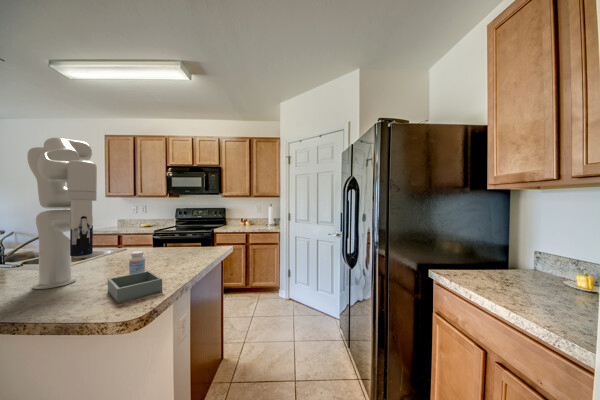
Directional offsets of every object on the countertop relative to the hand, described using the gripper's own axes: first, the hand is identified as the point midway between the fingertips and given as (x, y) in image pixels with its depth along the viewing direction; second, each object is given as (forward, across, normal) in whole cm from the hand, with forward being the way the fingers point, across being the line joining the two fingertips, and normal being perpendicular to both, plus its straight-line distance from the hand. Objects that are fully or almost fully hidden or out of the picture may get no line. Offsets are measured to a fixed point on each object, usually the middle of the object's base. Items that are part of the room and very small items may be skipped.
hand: (81, 247), depth 80 cm
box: (+19, +2, +15) cm, 24 cm away
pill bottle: (+20, -20, +21) cm, 35 cm away
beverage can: (+3, 0, 0) cm, 3 cm away
